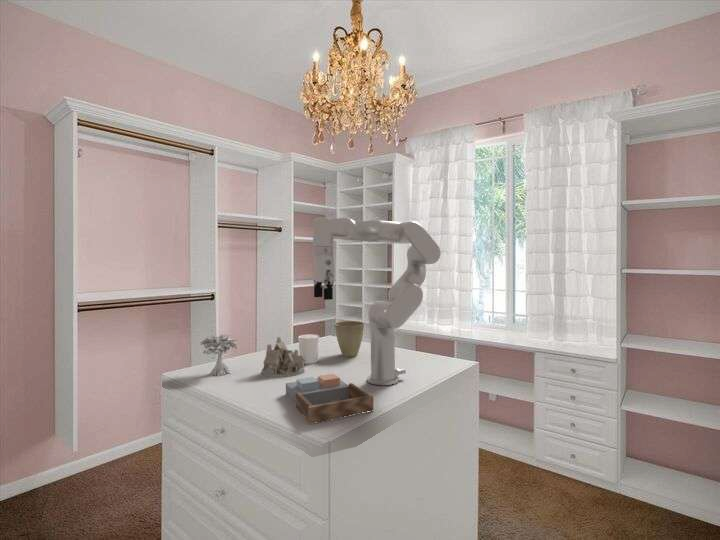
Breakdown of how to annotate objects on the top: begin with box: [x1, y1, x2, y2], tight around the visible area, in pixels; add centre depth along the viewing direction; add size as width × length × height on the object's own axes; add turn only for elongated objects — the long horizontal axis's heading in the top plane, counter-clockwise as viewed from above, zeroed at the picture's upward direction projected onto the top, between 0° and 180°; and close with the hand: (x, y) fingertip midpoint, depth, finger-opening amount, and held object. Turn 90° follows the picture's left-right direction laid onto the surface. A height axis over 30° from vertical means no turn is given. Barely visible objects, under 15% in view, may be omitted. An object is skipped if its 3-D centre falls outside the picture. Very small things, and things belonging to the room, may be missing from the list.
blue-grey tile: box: [296, 376, 319, 391], centre depth 142 cm, size 6×6×2 cm
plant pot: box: [334, 320, 365, 358], centre depth 203 cm, size 15×15×16 cm
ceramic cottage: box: [260, 336, 305, 378], centre depth 174 cm, size 16×16×15 cm
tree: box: [200, 333, 238, 377], centre depth 174 cm, size 18×16×17 cm
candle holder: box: [297, 333, 320, 365], centre depth 192 cm, size 10×10×12 cm
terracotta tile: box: [317, 373, 341, 387], centre depth 146 cm, size 6×6×2 cm
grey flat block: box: [285, 377, 350, 405], centre depth 145 cm, size 19×14×4 cm
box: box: [295, 383, 374, 425], centre depth 132 cm, size 21×15×5 cm
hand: (323, 298), depth 150 cm, fingers open, 9 cm apart
